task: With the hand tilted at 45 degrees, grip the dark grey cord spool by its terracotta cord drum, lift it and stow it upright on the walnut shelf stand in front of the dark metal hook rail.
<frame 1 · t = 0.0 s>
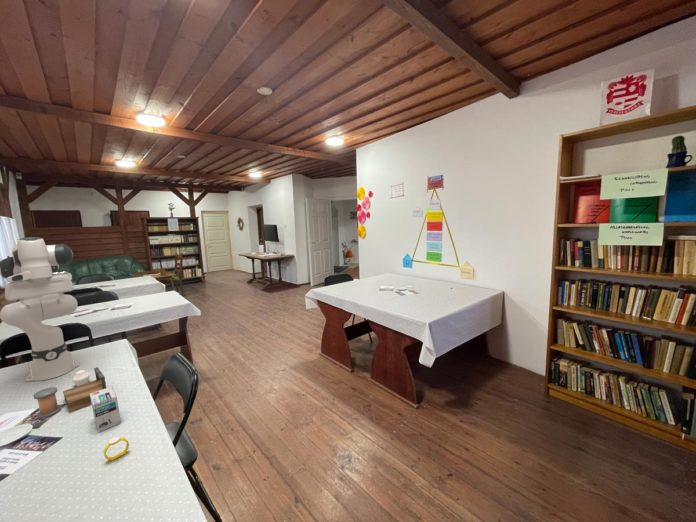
hand: (44, 306, 124), 39 cm above the table, fingers open, 8 cm apart
shelf stand: (86, 398, 121), on the table
cord spool: (49, 412, 112), on the table
watch: (118, 457, 89), on the table
light bulb box: (107, 422, 106), on the table
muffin: (82, 384, 132), on the table
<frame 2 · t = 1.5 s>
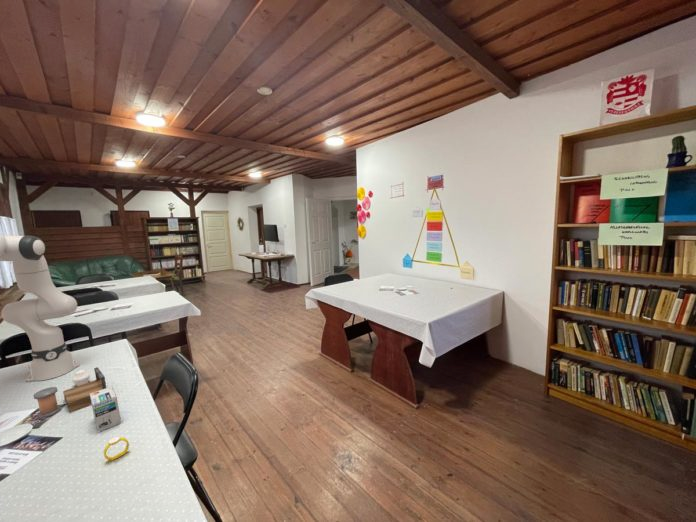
nothing on the table moved.
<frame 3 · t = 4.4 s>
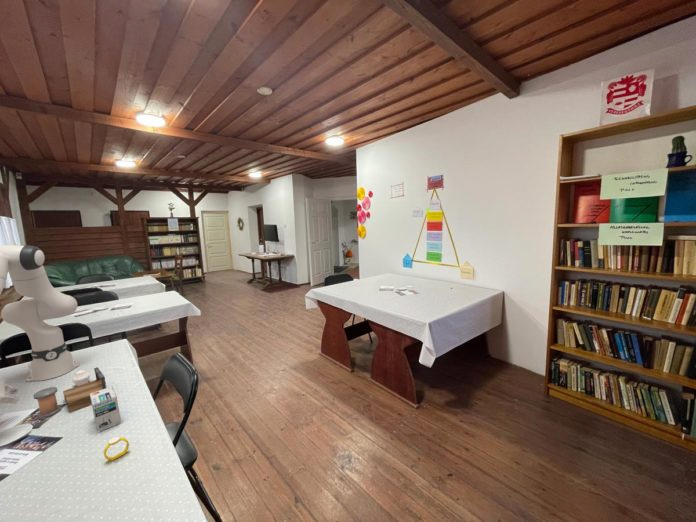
hand: (17, 396, 106), 11 cm above the table, fingers open, 8 cm apart
nothing on the table moved.
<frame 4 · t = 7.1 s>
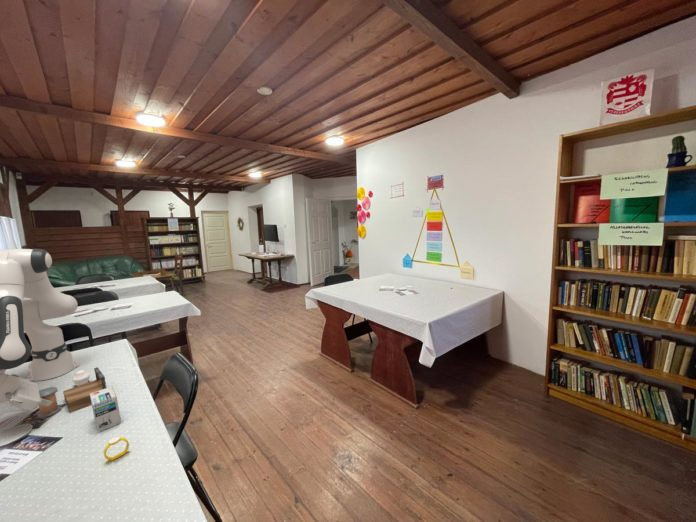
hand: (49, 400, 112), 5 cm above the table, fingers closed on cord spool, 5 cm apart
cord spool: (49, 412, 112), on the table, touching gripper
everything else where it was.
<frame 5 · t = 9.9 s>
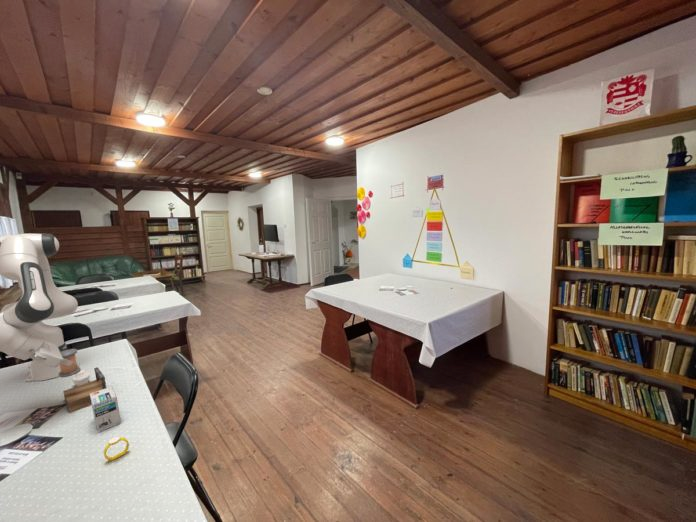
hand: (70, 361, 116), 18 cm above the table, fingers closed on cord spool, 5 cm apart
cord spool: (69, 373, 116), point 13 cm above the table, touching gripper
everything else where it was.
when the fingers open (10 cm above the table, at t = 12.5 s): cord spool drops 1 cm, resting on shelf stand.
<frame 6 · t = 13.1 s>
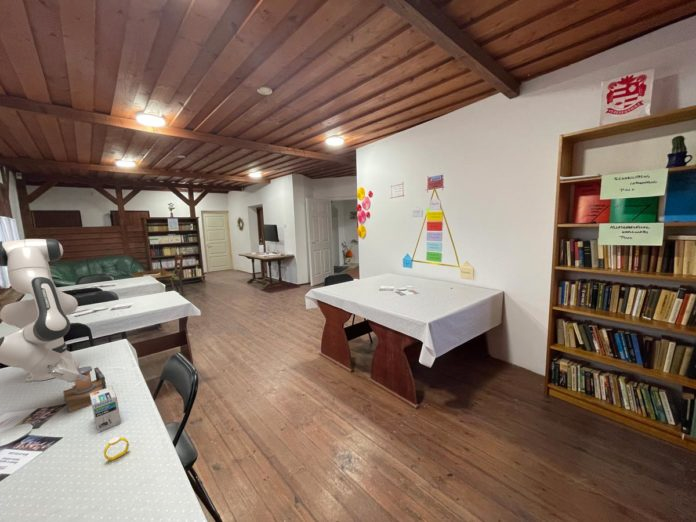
hand: (84, 375, 120), 10 cm above the table, fingers open, 8 cm apart
cord spool: (85, 390, 120), point 4 cm above the table, touching shelf stand
everything else where it was.
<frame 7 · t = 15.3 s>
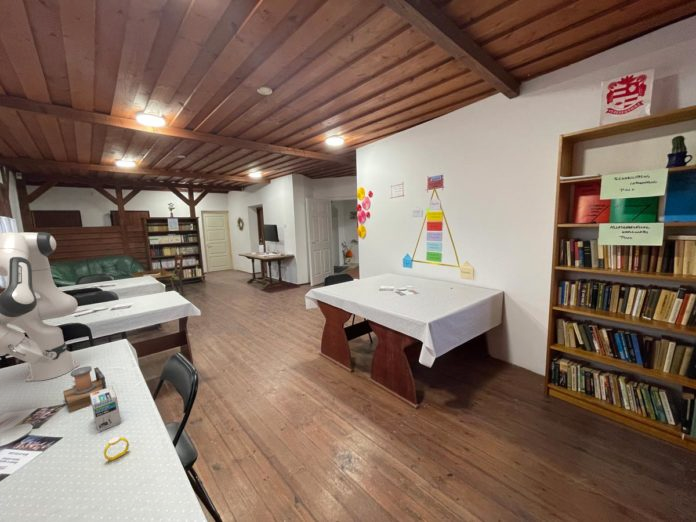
hand: (49, 358, 113), 21 cm above the table, fingers open, 8 cm apart
nothing on the table moved.
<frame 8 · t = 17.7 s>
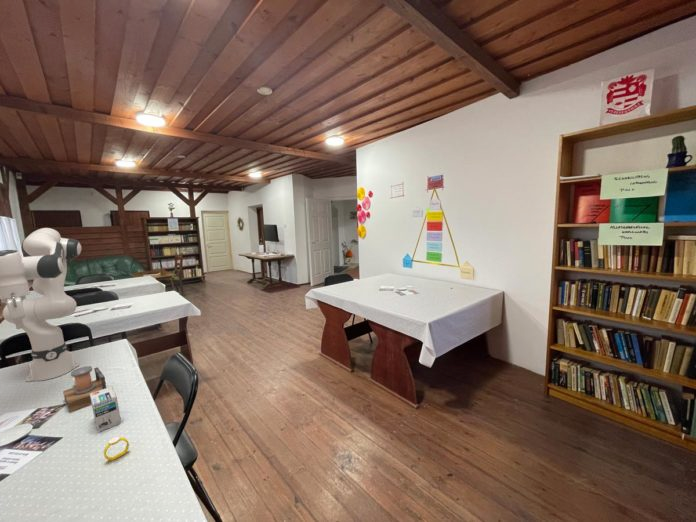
hand: (19, 326, 113), 34 cm above the table, fingers open, 8 cm apart
nothing on the table moved.
at the end: cord spool inside the target area (0.1 cm from its centre), point 4.1 cm above the table; cord spool tilted 2°; the gripper is holding nothing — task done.
